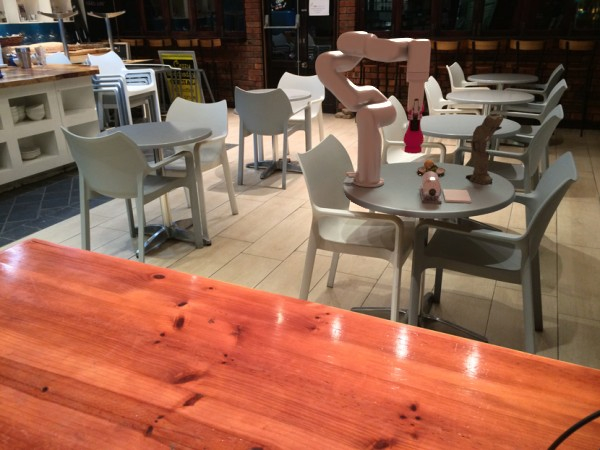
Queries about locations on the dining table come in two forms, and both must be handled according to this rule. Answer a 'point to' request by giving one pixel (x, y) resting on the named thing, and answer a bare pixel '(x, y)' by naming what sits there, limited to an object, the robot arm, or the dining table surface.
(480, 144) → the brown tall irregular piece
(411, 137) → the pepper mill
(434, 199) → the motor housing
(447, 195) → the far mat
